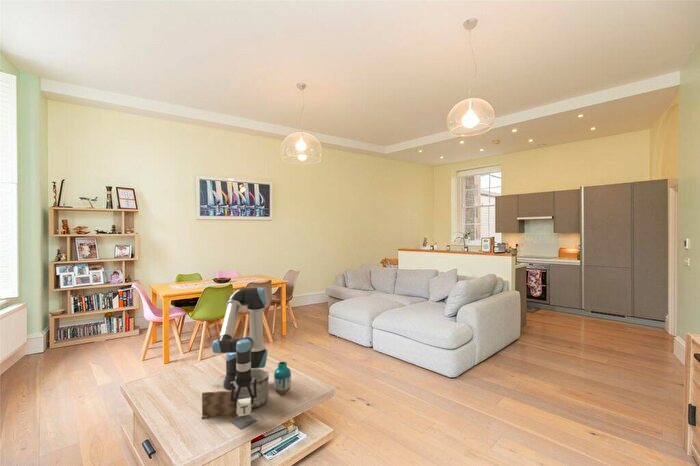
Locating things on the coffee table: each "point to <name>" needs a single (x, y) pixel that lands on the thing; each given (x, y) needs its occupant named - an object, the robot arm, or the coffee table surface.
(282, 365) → the vase
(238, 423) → the mat
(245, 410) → the cream cube
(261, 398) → the planter
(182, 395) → the coffee table surface
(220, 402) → the walnut screen
